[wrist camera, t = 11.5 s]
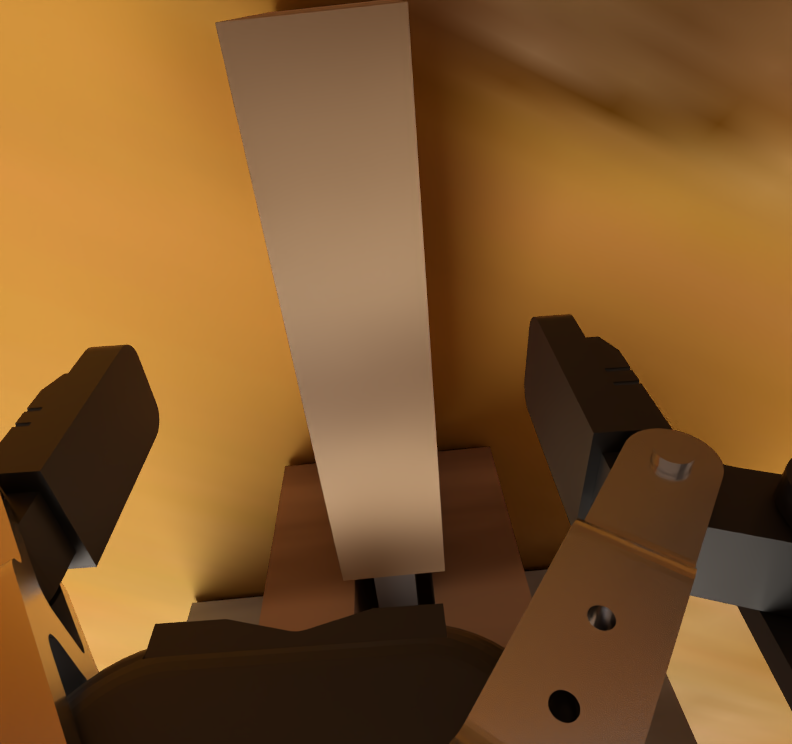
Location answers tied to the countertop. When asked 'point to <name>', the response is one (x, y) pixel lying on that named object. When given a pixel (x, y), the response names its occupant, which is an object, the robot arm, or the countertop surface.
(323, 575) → the slotted block base plate
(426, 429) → the rail
